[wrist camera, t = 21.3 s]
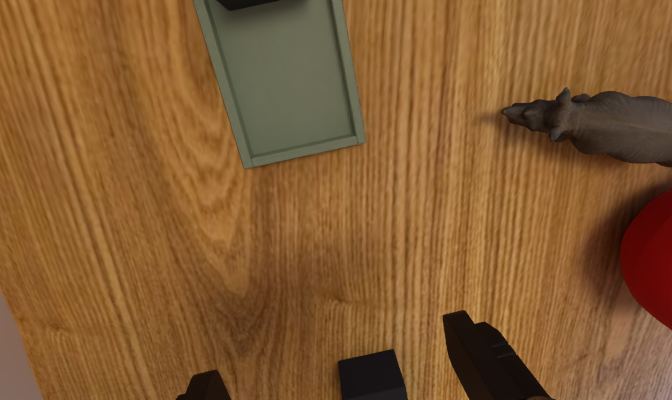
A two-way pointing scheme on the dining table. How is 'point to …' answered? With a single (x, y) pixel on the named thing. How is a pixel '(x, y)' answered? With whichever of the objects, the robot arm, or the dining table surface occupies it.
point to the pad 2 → (372, 377)
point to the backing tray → (284, 77)
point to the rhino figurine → (603, 124)
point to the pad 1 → (242, 3)
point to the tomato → (650, 258)
